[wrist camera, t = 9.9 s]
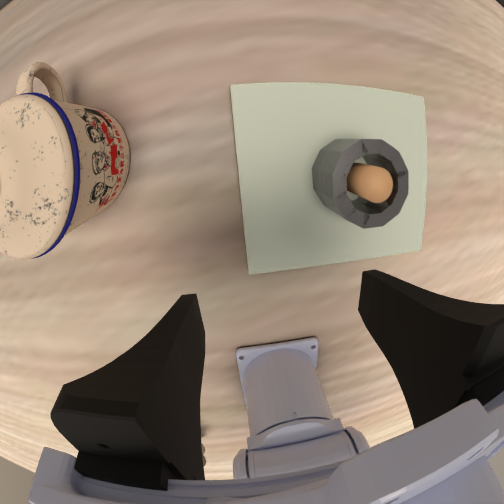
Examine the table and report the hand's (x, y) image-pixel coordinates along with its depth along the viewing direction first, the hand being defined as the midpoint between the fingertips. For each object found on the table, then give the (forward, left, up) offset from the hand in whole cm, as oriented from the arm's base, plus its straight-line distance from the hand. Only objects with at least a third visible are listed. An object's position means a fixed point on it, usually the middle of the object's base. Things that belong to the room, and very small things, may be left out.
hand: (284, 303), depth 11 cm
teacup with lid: (+9, +13, -11) cm, 19 cm away
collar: (+4, -7, -9) cm, 12 cm away
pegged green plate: (+4, -7, -10) cm, 13 cm away
